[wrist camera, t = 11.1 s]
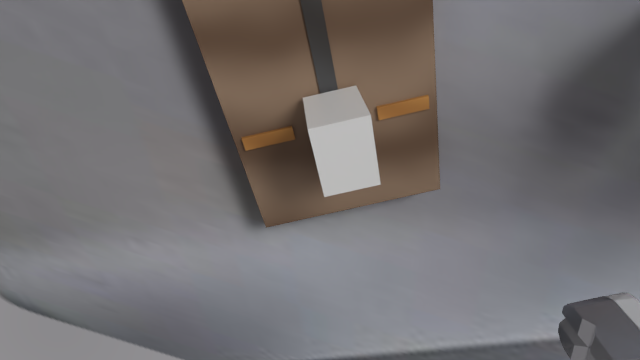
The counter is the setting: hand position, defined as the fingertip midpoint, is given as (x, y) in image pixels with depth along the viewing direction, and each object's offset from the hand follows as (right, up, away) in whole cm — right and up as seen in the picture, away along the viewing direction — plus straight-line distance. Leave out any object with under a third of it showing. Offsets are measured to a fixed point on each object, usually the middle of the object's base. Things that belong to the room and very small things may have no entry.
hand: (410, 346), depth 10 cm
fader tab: (-2, +8, +12) cm, 14 cm away
